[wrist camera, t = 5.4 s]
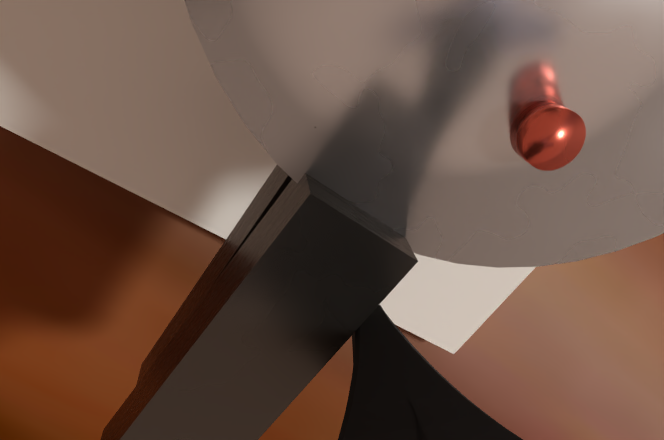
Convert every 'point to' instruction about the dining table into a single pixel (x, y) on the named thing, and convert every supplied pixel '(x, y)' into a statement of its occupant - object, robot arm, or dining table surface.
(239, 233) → the pot
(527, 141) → the lid
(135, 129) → the board
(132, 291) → the dining table surface
